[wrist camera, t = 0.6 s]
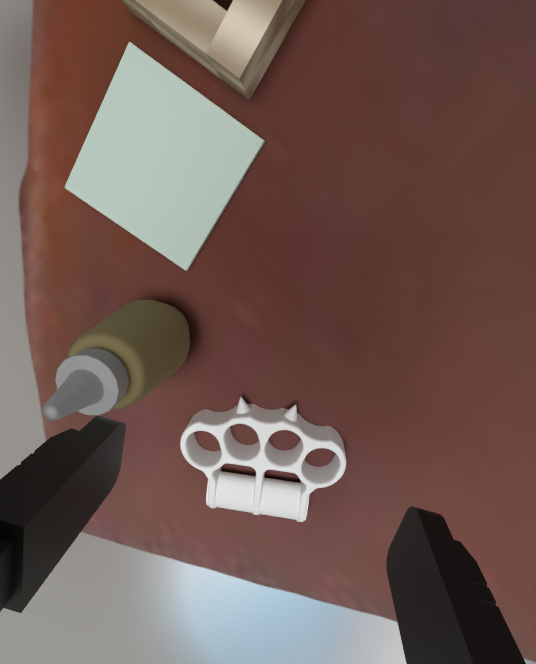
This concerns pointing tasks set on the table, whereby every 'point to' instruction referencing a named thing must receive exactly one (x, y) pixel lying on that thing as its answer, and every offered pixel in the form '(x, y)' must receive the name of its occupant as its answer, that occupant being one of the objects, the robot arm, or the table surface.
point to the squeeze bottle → (120, 360)
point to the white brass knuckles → (262, 460)
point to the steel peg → (224, 3)
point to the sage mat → (161, 158)
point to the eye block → (223, 33)
